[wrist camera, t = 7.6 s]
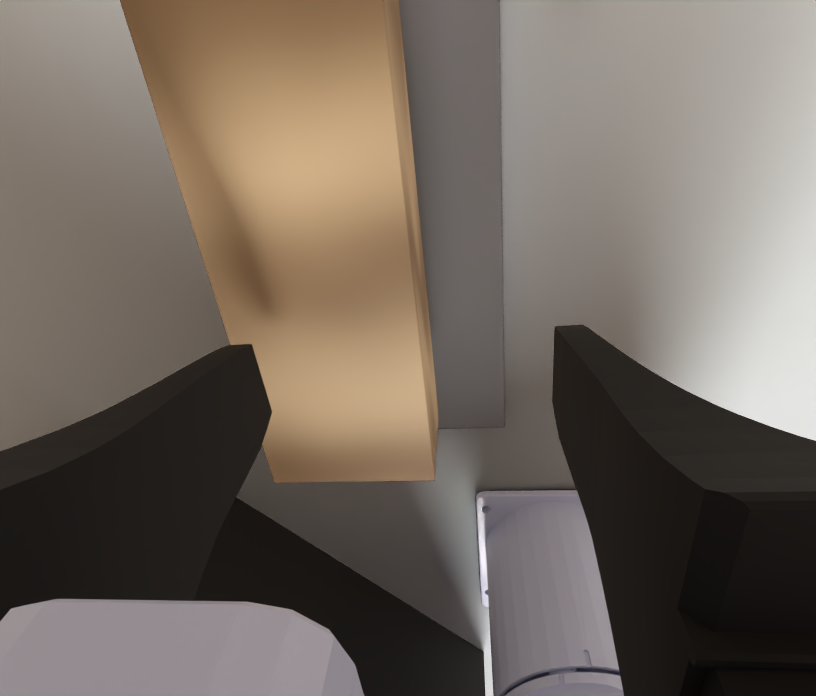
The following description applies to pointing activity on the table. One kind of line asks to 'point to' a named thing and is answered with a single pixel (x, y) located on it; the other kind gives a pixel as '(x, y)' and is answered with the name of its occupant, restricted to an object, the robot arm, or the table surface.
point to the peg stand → (459, 198)
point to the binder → (339, 609)
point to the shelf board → (305, 218)
